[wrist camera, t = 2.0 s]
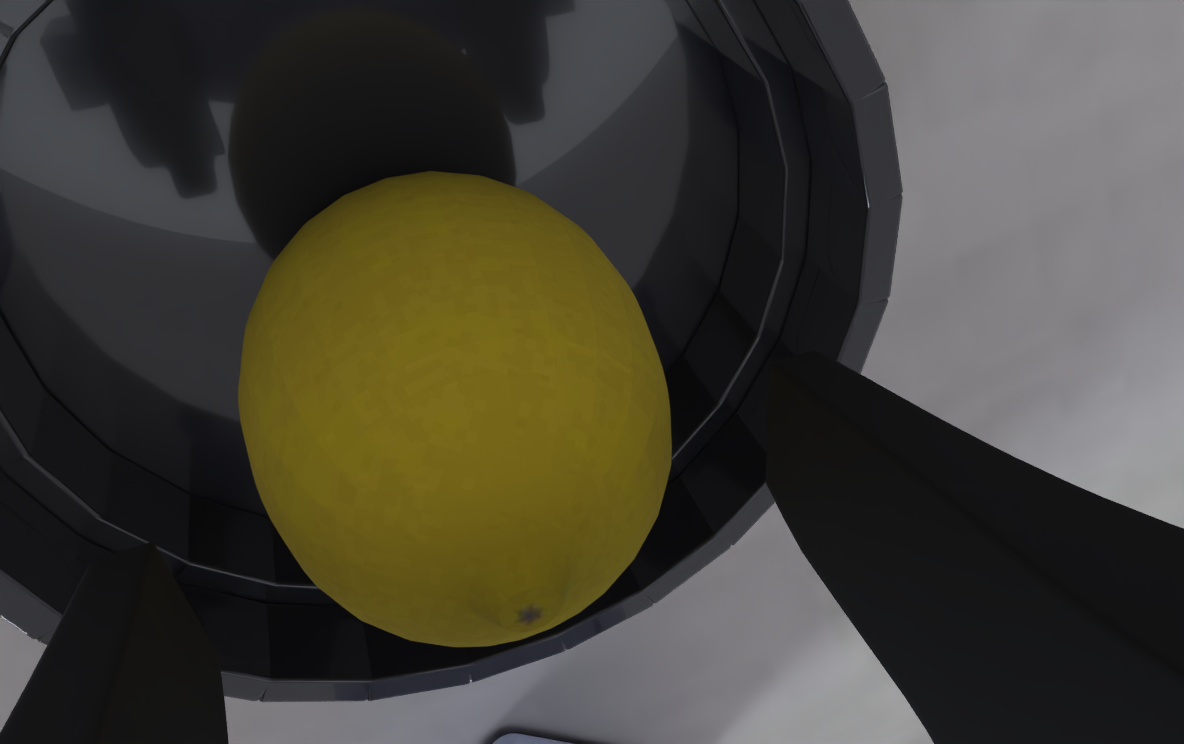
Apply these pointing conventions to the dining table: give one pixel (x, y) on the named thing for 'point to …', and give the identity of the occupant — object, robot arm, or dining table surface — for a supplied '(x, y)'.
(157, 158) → the pan
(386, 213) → the lemon
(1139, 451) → the dining table surface
